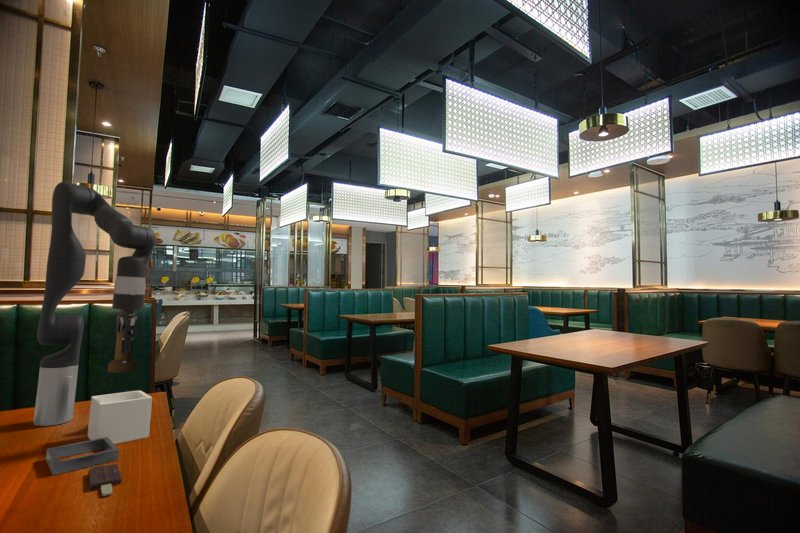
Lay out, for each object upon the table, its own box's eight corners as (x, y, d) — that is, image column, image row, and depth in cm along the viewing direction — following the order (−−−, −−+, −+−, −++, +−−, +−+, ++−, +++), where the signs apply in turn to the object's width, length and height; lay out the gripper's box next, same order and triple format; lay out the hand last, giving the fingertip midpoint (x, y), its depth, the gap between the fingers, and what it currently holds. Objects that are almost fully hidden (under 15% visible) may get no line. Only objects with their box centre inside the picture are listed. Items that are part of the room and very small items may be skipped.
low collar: (45, 459, 93) (46, 448, 94) (106, 446, 102) (107, 437, 102) (52, 475, 85) (53, 463, 86) (117, 460, 94) (118, 449, 94)
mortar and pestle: (102, 372, 107) (109, 307, 108) (113, 368, 113) (119, 307, 115) (130, 372, 108) (136, 308, 110) (139, 368, 115) (145, 307, 116)
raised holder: (87, 436, 109) (91, 396, 111) (136, 426, 118) (140, 390, 119) (96, 447, 101) (100, 404, 102) (148, 436, 110) (152, 397, 111)
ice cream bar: (123, 495, 79) (116, 469, 90) (124, 486, 79) (117, 462, 90) (90, 502, 75) (87, 475, 87) (91, 494, 75) (88, 467, 87)
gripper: (108, 291, 115) (102, 350, 113) (119, 292, 105) (113, 356, 104) (138, 292, 120) (132, 348, 119) (151, 293, 110) (145, 354, 109)
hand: (123, 352), depth 111 cm, fingers closed on mortar and pestle, 4 cm apart
